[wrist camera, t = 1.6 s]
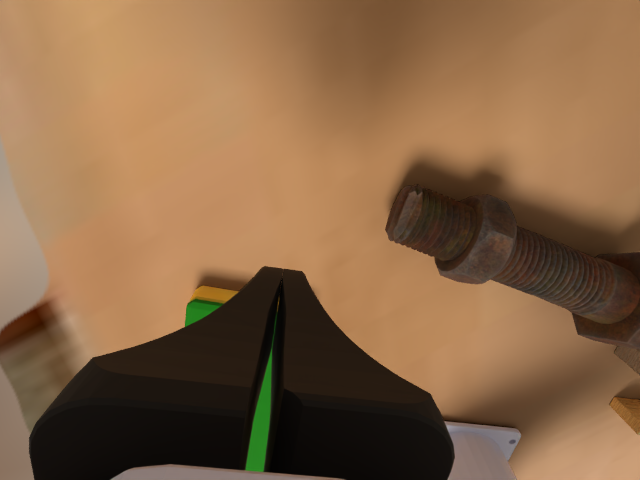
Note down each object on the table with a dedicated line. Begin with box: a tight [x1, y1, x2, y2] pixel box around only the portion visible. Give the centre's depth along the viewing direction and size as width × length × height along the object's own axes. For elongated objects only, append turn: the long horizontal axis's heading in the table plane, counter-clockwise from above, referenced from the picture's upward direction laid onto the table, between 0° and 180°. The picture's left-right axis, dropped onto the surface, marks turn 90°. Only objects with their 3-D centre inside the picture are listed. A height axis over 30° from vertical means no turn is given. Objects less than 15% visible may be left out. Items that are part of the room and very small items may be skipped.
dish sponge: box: [185, 285, 279, 472], centre depth 24 cm, size 7×14×2 cm, turn 168°
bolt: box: [385, 184, 640, 349], centre depth 20 cm, size 6×5×15 cm
